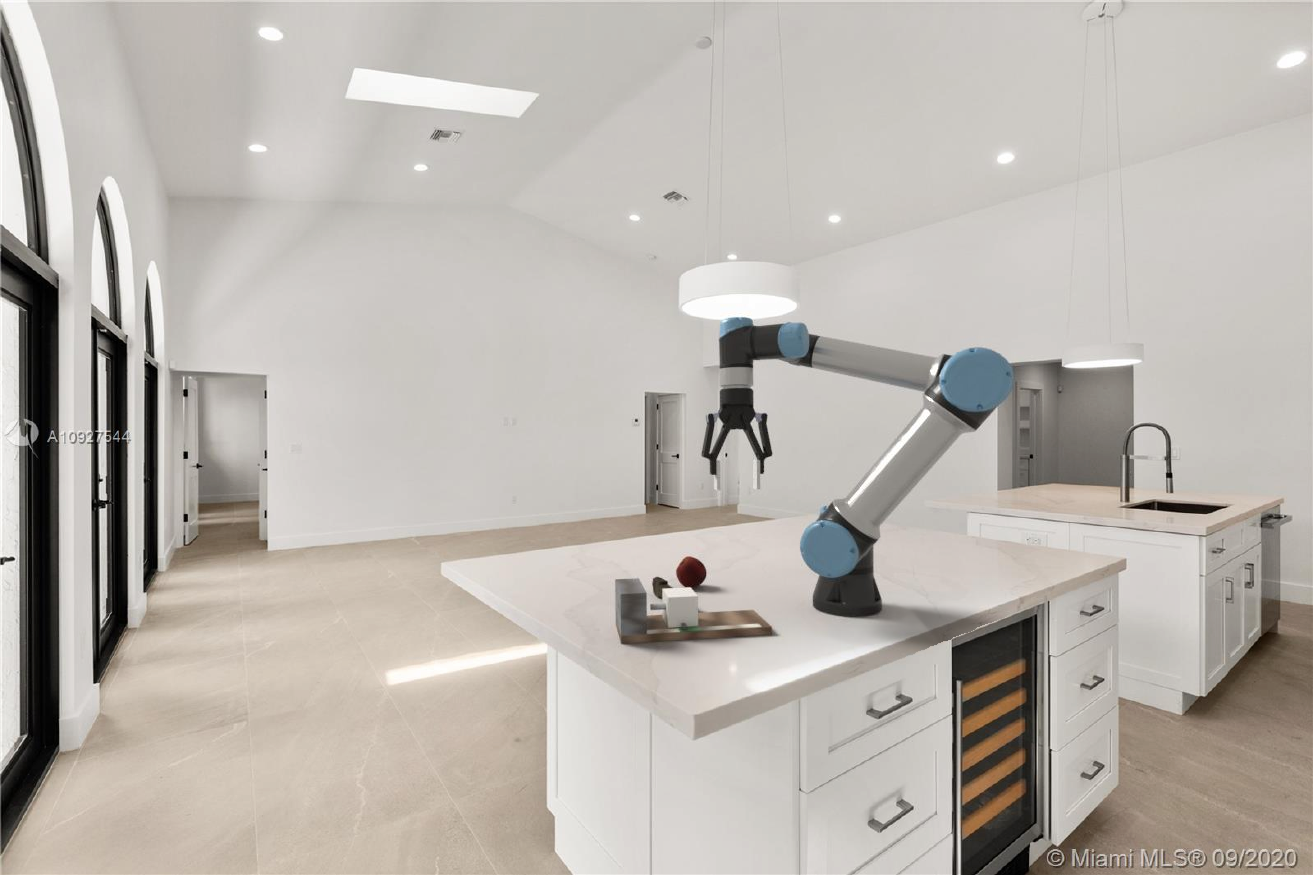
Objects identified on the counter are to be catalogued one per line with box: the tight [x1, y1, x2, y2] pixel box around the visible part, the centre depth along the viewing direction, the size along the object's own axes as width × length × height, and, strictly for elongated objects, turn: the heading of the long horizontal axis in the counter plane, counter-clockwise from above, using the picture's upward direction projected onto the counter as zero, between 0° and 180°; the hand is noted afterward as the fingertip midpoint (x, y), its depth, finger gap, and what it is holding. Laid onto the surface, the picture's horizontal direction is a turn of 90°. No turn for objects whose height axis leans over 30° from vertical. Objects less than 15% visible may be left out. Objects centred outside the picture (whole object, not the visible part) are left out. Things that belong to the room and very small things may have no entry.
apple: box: [675, 555, 707, 589], centre depth 161 cm, size 7×8×8 cm
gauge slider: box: [649, 587, 699, 629], centre depth 126 cm, size 9×10×6 cm
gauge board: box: [614, 577, 773, 645], centre depth 128 cm, size 30×12×10 cm, turn 99°
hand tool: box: [652, 576, 674, 599], centre depth 149 cm, size 19×4×5 cm, turn 22°
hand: (737, 489), depth 140 cm, fingers open, 8 cm apart
